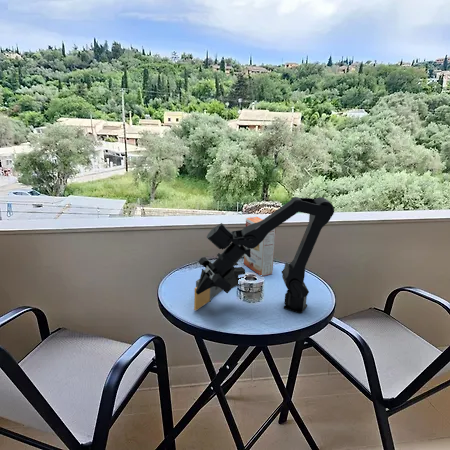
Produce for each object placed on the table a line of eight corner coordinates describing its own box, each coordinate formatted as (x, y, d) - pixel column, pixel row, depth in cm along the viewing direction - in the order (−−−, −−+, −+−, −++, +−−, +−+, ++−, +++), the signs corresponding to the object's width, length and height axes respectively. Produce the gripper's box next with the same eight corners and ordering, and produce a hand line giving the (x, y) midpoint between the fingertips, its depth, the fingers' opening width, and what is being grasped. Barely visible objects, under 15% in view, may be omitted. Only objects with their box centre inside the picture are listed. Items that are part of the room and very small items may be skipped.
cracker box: (242, 264, 182) (245, 217, 176) (254, 262, 185) (257, 216, 178) (260, 277, 170) (263, 227, 164) (272, 274, 173) (276, 225, 167)
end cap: (217, 277, 169) (217, 261, 167) (233, 274, 172) (234, 259, 170) (228, 287, 160) (229, 271, 158) (245, 284, 163) (246, 268, 161)
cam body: (223, 289, 158) (224, 273, 156) (209, 300, 150) (209, 282, 148) (210, 286, 161) (211, 269, 159) (195, 296, 153) (196, 278, 150)
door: (208, 300, 150) (209, 278, 147) (211, 301, 149) (212, 279, 147) (193, 310, 143) (194, 288, 140) (196, 311, 142) (196, 288, 139)
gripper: (255, 283, 135) (222, 319, 135) (234, 261, 152) (205, 294, 151) (233, 263, 130) (198, 301, 130) (213, 243, 147) (183, 276, 146)
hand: (196, 293), depth 140 cm, fingers closed
